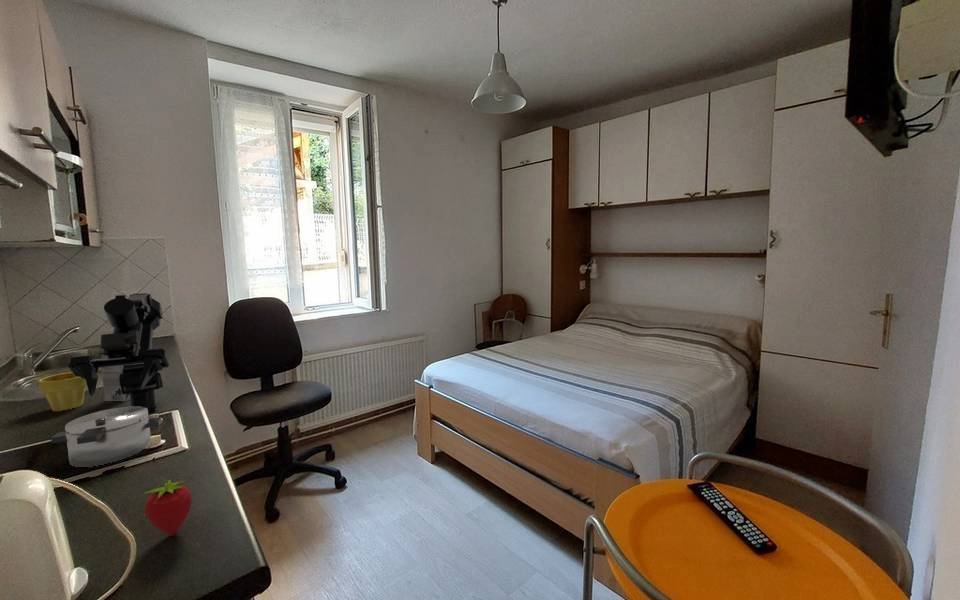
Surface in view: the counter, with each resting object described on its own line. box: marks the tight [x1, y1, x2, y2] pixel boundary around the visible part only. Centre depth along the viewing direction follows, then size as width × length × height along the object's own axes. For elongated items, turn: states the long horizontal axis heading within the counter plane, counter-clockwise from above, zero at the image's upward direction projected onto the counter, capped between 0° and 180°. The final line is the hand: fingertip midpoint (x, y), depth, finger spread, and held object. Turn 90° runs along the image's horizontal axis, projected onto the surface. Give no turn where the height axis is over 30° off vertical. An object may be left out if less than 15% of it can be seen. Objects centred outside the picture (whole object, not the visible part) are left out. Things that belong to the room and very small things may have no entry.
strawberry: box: [143, 476, 193, 537], centre depth 64 cm, size 6×8×10 cm
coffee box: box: [99, 351, 131, 402], centre depth 131 cm, size 9×6×16 cm
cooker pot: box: [50, 415, 163, 468], centre depth 93 cm, size 14×19×7 cm
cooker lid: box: [64, 405, 149, 444], centre depth 91 cm, size 19×14×2 cm
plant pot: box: [38, 371, 87, 412], centre depth 123 cm, size 10×10×10 cm
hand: (116, 391), depth 98 cm, fingers open, 9 cm apart
